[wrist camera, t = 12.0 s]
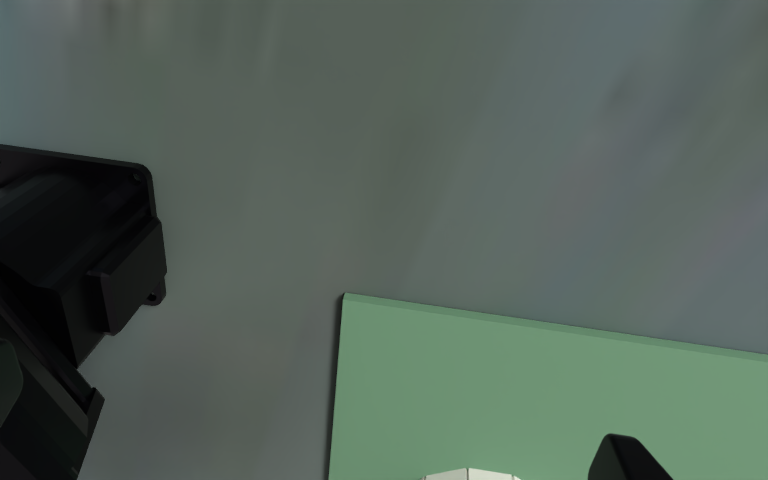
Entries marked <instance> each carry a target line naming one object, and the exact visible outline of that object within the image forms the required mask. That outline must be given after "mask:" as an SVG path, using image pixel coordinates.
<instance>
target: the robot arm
mask: <svg viewBox="0 0 768 480" xmlns="http://www.w3.org/2000/svg"><path fill="white" fill-rule="evenodd" d="M0 160H1V161H0V480H77V478H78V475H79V472H80V469H81V466H82V463H83V460H84V458H85V455H86V452H87V449H88V446H89V443H90V441H91V438H92V435H93V432H94V429H95V426H96V424H97V421H98V418H99V415H100V412H101V409H102V406H103V404H104V401H105V399H104V397H103V396H102V395H101V394H100V392H99V391H98V390H97V389H96V388H91V386H90V385H89V384H88V383H87V382H86V380H85V379H84V378H83V377H82V375H81V374H80V373H79V372H78V371H77V369H78V368H79V366H80V365H81V364H82V363H83V361H84V360H85V359H86V358H87V357H88V355H89V354H90V353H91V352H92V351H93V349H94V348H95V347H96V346H97V344H98V343H99V342H100V341H101V340H102V338H103V337H104V336H105V335H112V336H114V335H116V334H117V333H118V332H120V331H121V330H122V329H123V327H124V326H125V325H126V324H127V322H128V321H129V320H130V319H131V317H132V316H133V315H134V314H135V312H136V311H137V310H138V308H139V307H140V306H141V305H142V304H144V305H151V306H156V305H159V304H160V303H161V302H162V300H163V299H164V298H165V296H166V287H165V279H164V276H165V275H166V273H167V266H166V258H165V249H164V241H163V233H162V224H161V222H160V220H159V219H158V217H157V213H156V205H155V197H154V189H153V181H152V175H151V172H150V171H149V170H148V168H146V167H145V166H144V165H141V164H138V163H132V162H124V161H117V160H110V159H103V158H96V157H89V156H82V155H74V154H67V153H60V152H53V151H46V150H39V149H31V148H24V147H17V146H10V145H3V144H0ZM133 173H134V174H136V175H138V176H139V177H140V179H141V182H140V181H137V180H136V179H135V178H134V176H133ZM151 292H153V293H154V294H155V295H156V296H155V295H152V294H151ZM588 480H674V479H673V478H672V477H671V476H670V475H669V474H668V473H667V471H666V470H665V469H664V468H663V467H662V466H661V465H660V463H659V462H658V461H657V460H656V459H655V458H654V457H653V456H652V454H651V453H650V452H649V451H648V450H647V449H646V448H645V446H644V445H643V444H642V443H641V442H640V441H639V440H638V439H636V438H634V437H632V436H626V435H619V434H613V433H609V434H607V435H605V436H604V438H603V439H602V441H601V443H600V446H599V448H598V450H597V452H596V454H595V457H594V459H593V461H592V463H591V465H590V468H589V472H588Z"/></svg>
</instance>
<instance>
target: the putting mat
mask: <svg viewBox="0 0 768 480" xmlns="http://www.w3.org/2000/svg"><path fill="white" fill-rule="evenodd" d="M609 433H613V434H619V435H626V436H632V437H634V438H636V439H638V440H639V441H640V442H641V443H642V444H643V445H644V446H645V448H646V449H647V450H648V451H649V452H650V453H651V454H652V456H653V457H654V458H655V459H656V460H657V461H658V462H659V463H660V465H661V466H662V467H663V468H664V469H665V470H666V471H667V473H668V474H669V475H670V476H671V477H672V478H673V479H674V480H768V355H766V354H759V353H753V352H746V351H739V350H732V349H725V348H719V347H712V346H705V345H698V344H691V343H685V342H678V341H671V340H664V339H657V338H651V337H644V336H637V335H630V334H623V333H617V332H610V331H603V330H596V329H589V328H582V327H576V326H569V325H562V324H555V323H548V322H542V321H535V320H528V319H521V318H514V317H508V316H501V315H494V314H487V313H480V312H474V311H467V310H460V309H453V308H446V307H440V306H433V305H426V304H419V303H412V302H405V301H399V300H392V299H385V298H378V297H371V296H365V295H358V294H351V293H345V294H344V298H343V306H342V319H341V331H340V344H339V356H338V368H337V381H336V393H335V406H334V418H333V431H332V443H331V456H330V468H329V480H420V479H421V478H423V477H425V478H426V476H427V475H432V474H437V473H442V472H448V471H453V470H458V469H463V468H466V469H467V471H468V469H469V468H473V469H479V470H485V471H492V472H498V473H504V474H511V476H512V477H513V476H516V477H517V478H519V479H521V480H588V472H589V468H590V465H591V463H592V461H593V459H594V457H595V454H596V452H597V450H598V448H599V446H600V443H601V441H602V439H603V438H604V436H605V435H607V434H609Z"/></svg>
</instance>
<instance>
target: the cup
mask: <svg viewBox="0 0 768 480" xmlns="http://www.w3.org/2000/svg"><path fill="white" fill-rule="evenodd" d="M420 480H521V479H519V478H517V477H516V476H513V477H512V476H511V474H504V473H498V472H492V471H485V470H479V469H473V468H469V469H468V471H467V469H466V468H463V469H458V470H453V471H448V472H442V473H437V474H432V475H427V476H426V478H425V477H423V478H421V479H420Z"/></svg>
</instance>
